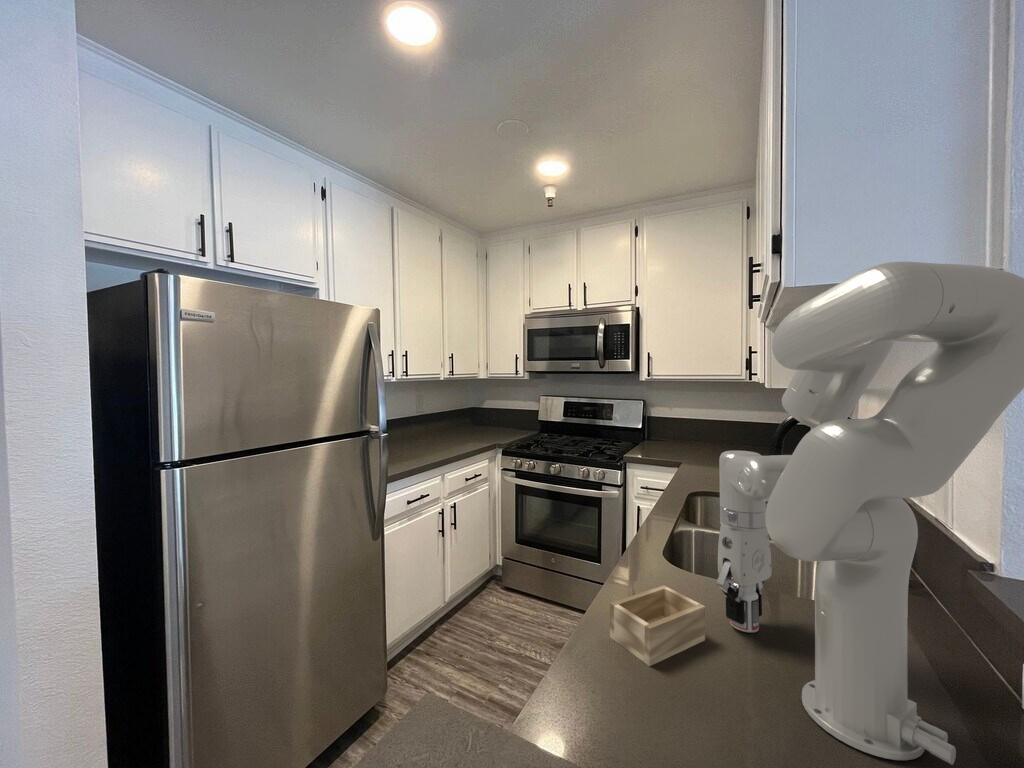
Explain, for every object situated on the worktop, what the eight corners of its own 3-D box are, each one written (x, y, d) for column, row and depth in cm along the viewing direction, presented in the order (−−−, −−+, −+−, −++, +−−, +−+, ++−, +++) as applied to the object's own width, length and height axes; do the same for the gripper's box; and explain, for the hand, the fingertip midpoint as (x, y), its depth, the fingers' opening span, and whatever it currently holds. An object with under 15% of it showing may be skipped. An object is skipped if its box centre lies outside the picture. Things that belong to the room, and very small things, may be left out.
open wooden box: (704, 640, 73) (705, 606, 73) (649, 666, 66) (649, 628, 66) (663, 615, 81) (663, 585, 81) (609, 636, 74) (610, 603, 74)
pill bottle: (751, 620, 79) (750, 575, 80) (764, 634, 75) (763, 586, 75) (725, 618, 80) (725, 574, 80) (736, 632, 75) (735, 585, 75)
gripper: (734, 530, 70) (736, 640, 70) (788, 516, 79) (790, 614, 78) (695, 519, 77) (696, 619, 76) (748, 507, 85) (750, 597, 85)
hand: (744, 615), depth 77 cm, fingers closed on pill bottle, 4 cm apart
